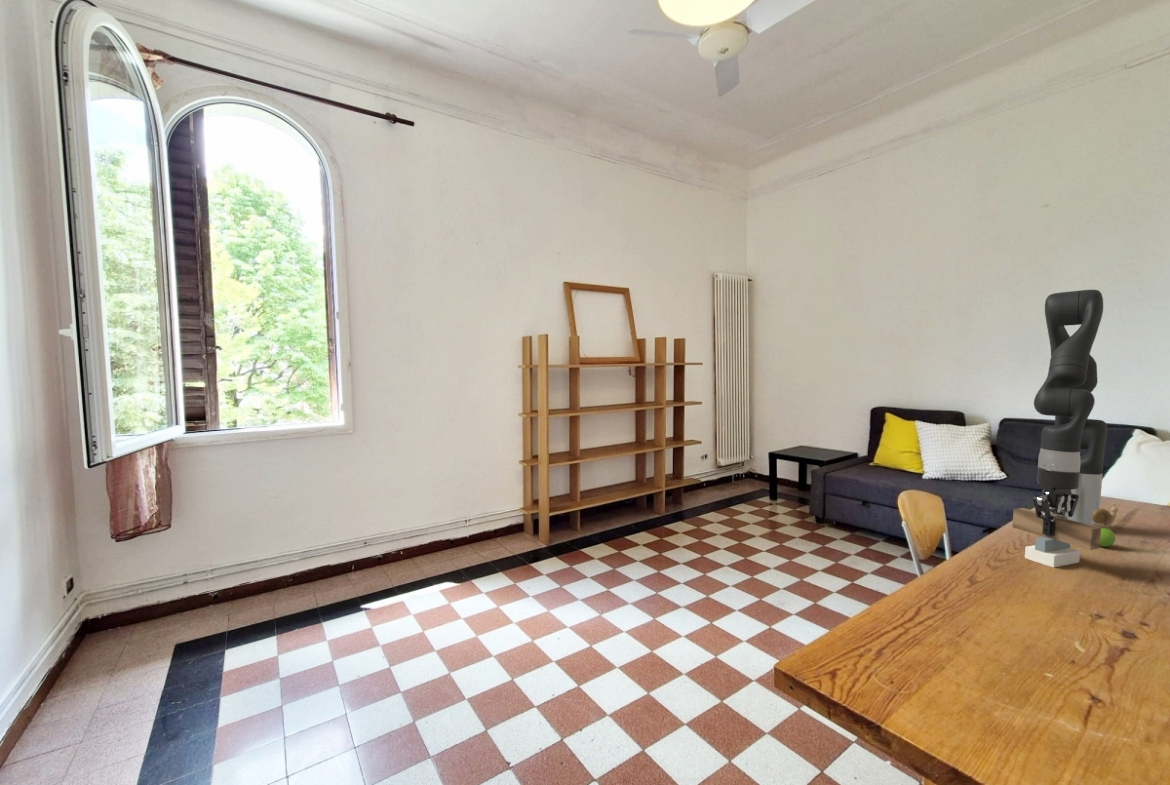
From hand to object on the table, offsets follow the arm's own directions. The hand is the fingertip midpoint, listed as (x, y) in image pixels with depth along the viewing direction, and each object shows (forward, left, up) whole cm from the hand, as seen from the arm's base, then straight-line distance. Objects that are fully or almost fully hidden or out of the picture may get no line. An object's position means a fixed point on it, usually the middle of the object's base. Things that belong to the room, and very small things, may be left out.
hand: (1053, 534), depth 122 cm
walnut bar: (0, 0, -1) cm, 1 cm away
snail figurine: (-25, -2, -7) cm, 26 cm away
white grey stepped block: (0, 0, -7) cm, 7 cm away
